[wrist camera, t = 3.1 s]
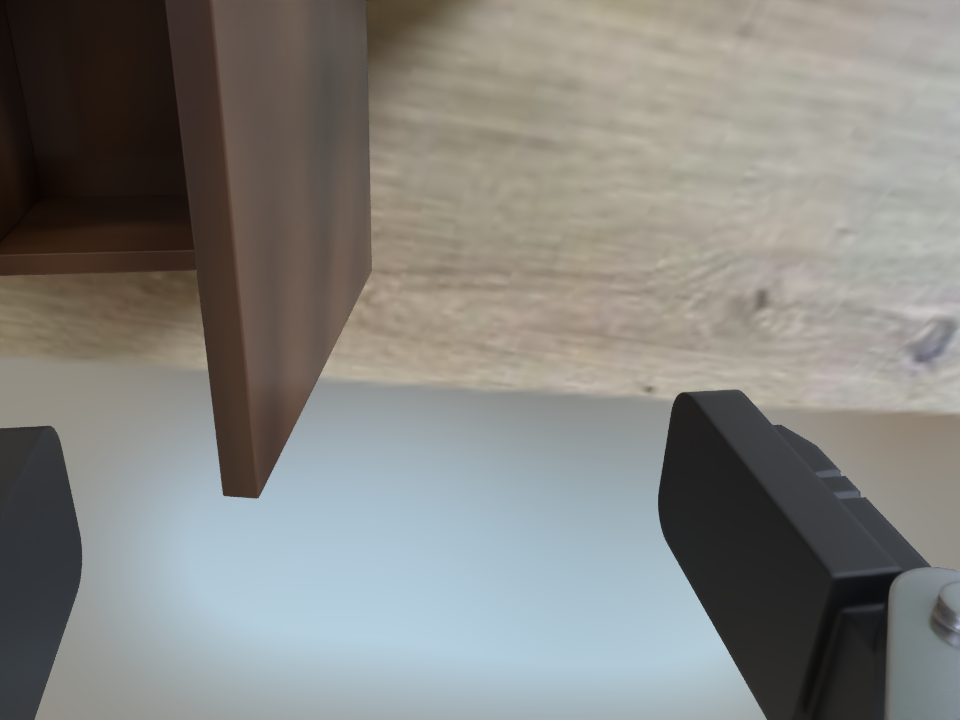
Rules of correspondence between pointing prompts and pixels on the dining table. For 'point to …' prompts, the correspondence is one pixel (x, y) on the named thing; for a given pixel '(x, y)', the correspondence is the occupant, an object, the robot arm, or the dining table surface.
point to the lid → (272, 204)
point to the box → (90, 140)
